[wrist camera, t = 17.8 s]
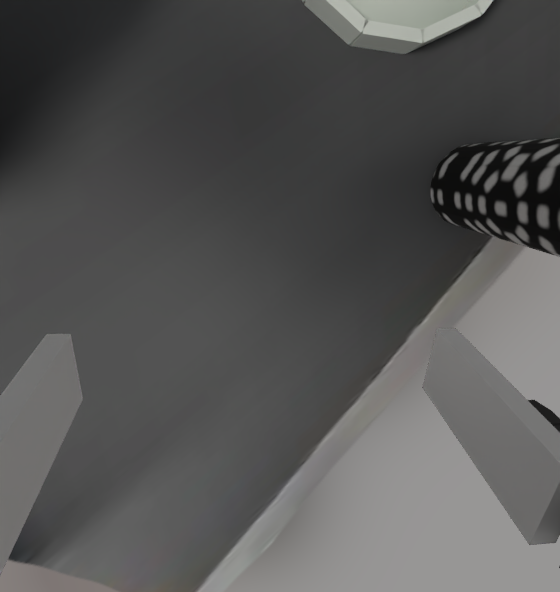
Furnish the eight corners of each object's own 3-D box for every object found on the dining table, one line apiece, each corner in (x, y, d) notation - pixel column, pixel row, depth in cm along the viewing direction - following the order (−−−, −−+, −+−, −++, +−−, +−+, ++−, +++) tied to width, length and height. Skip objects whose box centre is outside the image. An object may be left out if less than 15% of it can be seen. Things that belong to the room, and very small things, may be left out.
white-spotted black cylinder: (434, 234, 45) (580, 289, 26) (425, 154, 42) (581, 151, 23) (509, 215, 45) (707, 256, 26) (505, 134, 42) (723, 115, 23)
